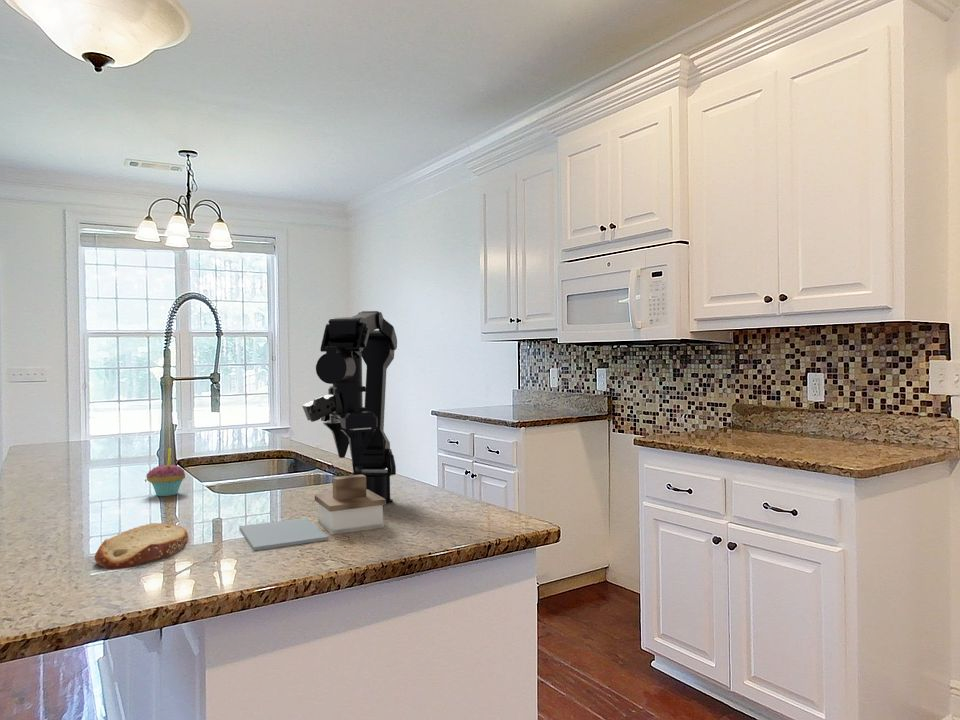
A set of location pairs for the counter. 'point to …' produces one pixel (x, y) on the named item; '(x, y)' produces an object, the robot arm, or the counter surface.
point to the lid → (349, 494)
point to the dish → (350, 519)
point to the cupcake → (166, 478)
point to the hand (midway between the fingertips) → (348, 460)
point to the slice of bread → (141, 545)
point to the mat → (282, 533)
